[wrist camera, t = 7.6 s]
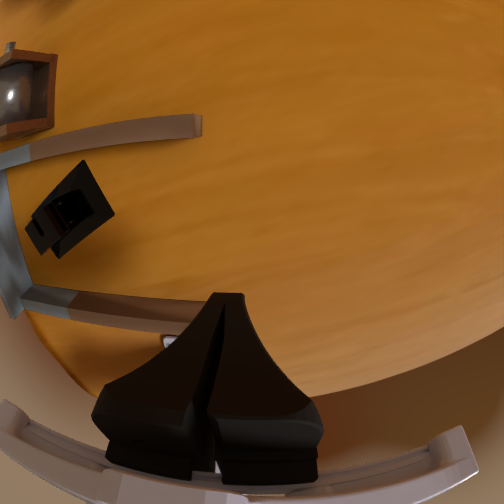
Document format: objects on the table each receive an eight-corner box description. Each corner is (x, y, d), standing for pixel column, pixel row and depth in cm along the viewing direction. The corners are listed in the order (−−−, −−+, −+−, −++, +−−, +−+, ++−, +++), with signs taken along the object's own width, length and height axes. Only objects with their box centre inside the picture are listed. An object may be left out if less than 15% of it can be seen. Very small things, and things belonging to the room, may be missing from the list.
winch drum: (54, 126, 16) (6, 135, 11) (21, 137, 16) (-23, 149, 11) (61, 33, 12) (18, 22, 7) (26, 51, 12) (-16, 48, 7)
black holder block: (94, 142, 18) (61, 149, 14) (136, 213, 21) (112, 235, 17) (25, 215, 21) (-3, 233, 16) (60, 270, 23) (36, 294, 19)
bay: (209, 314, 24) (201, 354, 20) (32, 293, 24) (10, 317, 20) (202, 115, 17) (184, 112, 12) (-1, 155, 17) (-33, 167, 12)
